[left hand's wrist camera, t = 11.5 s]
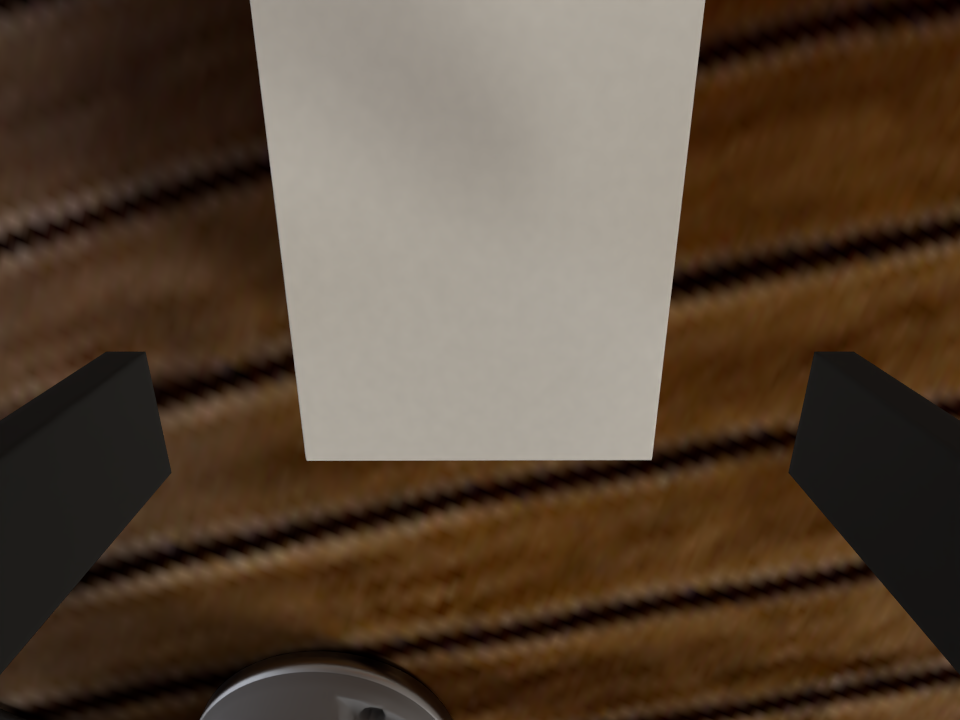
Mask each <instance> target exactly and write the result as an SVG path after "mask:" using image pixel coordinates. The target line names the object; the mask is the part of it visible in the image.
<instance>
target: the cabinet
mask: <svg viewBox="0 0 960 720" xmlns="http://www.w3.org/2000/svg"><path fill="white" fill-rule="evenodd" d="M250 5H251V13H252V21H253V29H254V38H255V46H256V54H257V62H258V70H259V78H260V87H261V95H262V103H263V111H264V119H265V128H266V136H267V144H268V152H269V160H270V168H271V177H272V185H273V193H274V201H275V209H276V218H277V226H278V234H279V242H280V250H281V258H282V267H283V275H284V283H285V291H286V299H287V308H288V316H289V324H290V332H291V340H292V348H293V357H294V365H295V373H296V381H297V389H298V398H299V406H300V414H301V422H302V430H303V439H304V447H305V455H306V460H307V461H347V460H651V459H652V453H653V445H654V436H655V427H656V419H657V410H658V402H659V393H660V384H661V376H662V367H663V359H664V350H665V341H666V333H667V324H668V315H669V307H670V298H671V290H672V281H673V272H674V264H675V255H676V246H677V238H678V229H679V221H680V212H681V203H682V195H683V186H684V177H685V169H686V160H687V152H688V143H689V134H690V126H691V117H692V109H693V100H694V91H695V83H696V74H697V65H698V57H699V48H700V40H701V31H702V22H703V14H704V5H705V0H250Z"/></svg>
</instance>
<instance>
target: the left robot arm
mask: <svg viewBox="0 0 960 720" xmlns="http://www.w3.org/2000/svg"><path fill="white" fill-rule="evenodd" d="M170 474H171V468H170V464H169V459H168V454H167V450H166V445H165V441H164V436H163V431H162V427H161V422H160V417H159V413H158V408H157V403H156V399H155V394H154V390H153V385H152V380H151V376H150V371H149V366H148V362H147V357H146V352H105V353H104V354H102V355H101V356H99V357H97V358H96V359H94V360H93V361H91V362H90V363H88V364H87V365H85V366H84V367H82V368H81V369H79V370H78V371H76V372H74V373H73V374H71V375H70V376H68V377H67V378H65V379H64V380H62V381H61V382H59V383H58V384H56V385H54V386H53V387H51V388H50V389H48V390H47V391H45V392H44V393H42V394H41V395H39V396H38V397H36V398H34V399H33V400H31V401H30V402H28V403H27V404H25V405H24V406H22V407H21V408H19V409H18V410H16V411H14V412H13V413H11V414H10V415H8V416H7V417H5V418H4V419H2V420H1V421H0V674H1V673H2V672H3V671H4V670H5V668H6V667H7V666H8V665H9V664H10V662H11V661H12V660H13V659H14V658H15V657H16V655H17V654H18V653H19V652H20V651H21V649H22V648H23V647H24V646H25V645H26V644H27V642H28V641H29V640H30V639H31V638H32V636H33V635H34V634H35V633H36V632H37V631H38V629H39V628H40V627H41V626H42V625H43V624H44V622H45V621H46V620H47V619H48V618H49V616H50V615H51V614H52V613H53V612H54V611H55V609H56V608H57V607H58V606H59V605H60V603H61V602H62V601H63V600H64V599H65V598H66V596H67V595H68V594H69V593H70V592H71V590H72V589H73V588H74V587H75V586H76V585H77V583H78V582H79V581H80V580H81V579H82V578H83V576H84V575H85V574H86V573H87V572H88V570H89V569H90V568H91V567H92V566H93V565H94V563H95V562H96V561H97V560H98V559H99V557H100V556H101V555H102V554H103V553H104V552H105V550H106V549H107V548H108V547H109V546H110V544H111V543H112V542H113V541H114V540H115V539H116V537H117V536H118V535H119V534H120V533H121V532H122V530H123V529H124V528H125V527H126V526H127V524H128V523H129V522H130V521H131V520H132V519H133V517H134V516H135V515H136V514H137V513H138V511H139V510H140V509H141V508H142V507H143V506H144V504H145V503H146V502H147V501H148V500H149V498H150V497H151V496H152V495H153V494H154V493H155V491H156V490H157V489H158V488H159V487H160V486H161V484H162V483H163V482H164V481H165V480H166V478H167V477H168V476H169V475H170ZM789 474H790V475H791V476H792V477H793V478H794V480H795V481H796V482H797V483H798V484H799V486H800V487H801V488H802V489H803V490H804V491H805V493H806V494H807V495H808V496H809V497H810V498H811V500H812V501H813V502H814V503H815V504H816V506H817V507H818V508H819V509H820V510H821V511H822V513H823V514H824V515H825V516H826V517H827V519H828V520H829V521H830V522H831V523H832V524H833V526H834V527H835V528H836V529H837V530H838V532H839V533H840V534H841V535H842V536H843V537H844V539H845V540H846V541H847V542H848V543H849V544H850V546H851V547H852V548H853V549H854V550H855V552H856V553H857V554H858V555H859V556H860V557H861V559H862V560H863V561H864V562H865V563H866V565H867V566H868V567H869V568H870V569H871V570H872V572H873V573H874V574H875V575H876V576H877V578H878V579H879V580H880V581H881V582H882V583H883V585H884V586H885V587H886V588H887V589H888V590H889V592H890V593H891V594H892V595H893V596H894V598H895V599H896V600H897V601H898V602H899V603H900V605H901V606H902V607H903V608H904V609H905V611H906V612H907V613H908V614H909V615H910V616H911V618H912V619H913V620H914V621H915V622H916V624H917V625H918V626H919V627H920V628H921V629H922V631H923V632H924V633H925V634H926V635H927V636H928V638H929V639H930V640H931V641H932V642H933V644H934V645H935V646H936V647H937V648H938V649H939V651H940V652H941V653H942V654H943V655H944V657H945V658H946V659H947V660H948V661H949V662H950V664H951V665H952V666H953V667H954V668H955V670H956V671H957V672H958V673H959V674H960V421H959V420H958V419H956V418H955V417H953V416H952V415H950V414H949V413H947V412H946V411H944V410H942V409H941V408H939V407H938V406H936V405H935V404H933V403H932V402H930V401H929V400H927V399H926V398H924V397H922V396H921V395H919V394H918V393H916V392H915V391H913V390H912V389H910V388H909V387H907V386H906V385H904V384H902V383H901V382H899V381H898V380H896V379H895V378H893V377H892V376H890V375H889V374H887V373H886V372H884V371H882V370H881V369H879V368H878V367H876V366H875V365H873V364H872V363H870V362H869V361H867V360H866V359H864V358H863V357H861V356H859V355H858V354H856V353H855V352H814V357H813V362H812V366H811V371H810V376H809V380H808V385H807V390H806V394H805V399H804V403H803V408H802V413H801V417H800V422H799V427H798V431H797V436H796V441H795V445H794V450H793V454H792V459H791V464H790V468H789ZM0 720H27V719H24V718H21V717H19V716H16V715H14V714H12V713H9V712H7V711H5V710H3V709H0ZM200 720H452V718H451V716H450V714H449V713H448V711H447V709H446V708H445V706H444V705H443V704H442V703H441V701H440V700H439V699H438V698H437V697H436V696H435V695H434V694H433V693H432V692H431V691H430V690H429V689H428V688H426V687H425V686H424V685H423V684H422V683H420V682H419V681H417V680H416V679H414V678H413V677H411V676H410V675H408V674H406V673H404V672H403V671H401V670H399V669H397V668H394V667H392V666H390V665H388V664H385V663H382V662H380V661H377V660H374V659H370V658H367V657H363V656H358V655H353V654H348V653H340V652H329V651H306V652H295V653H289V654H283V655H279V656H275V657H271V658H267V659H265V660H262V661H259V662H256V663H254V664H252V665H250V666H248V667H246V668H244V669H242V670H240V671H239V672H237V673H235V674H234V675H233V676H231V677H230V678H229V679H227V680H226V681H225V682H224V683H223V684H222V685H221V686H220V687H219V688H218V689H217V690H216V691H215V693H214V694H213V695H212V697H211V698H210V700H209V701H208V703H207V705H206V707H205V709H204V712H203V714H202V716H201V718H200Z"/></svg>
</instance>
